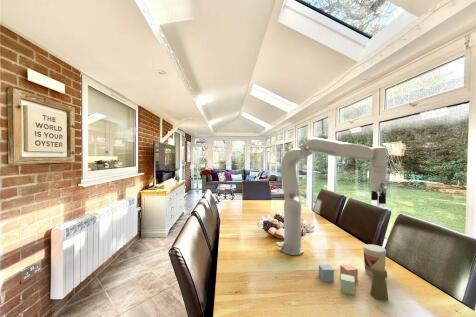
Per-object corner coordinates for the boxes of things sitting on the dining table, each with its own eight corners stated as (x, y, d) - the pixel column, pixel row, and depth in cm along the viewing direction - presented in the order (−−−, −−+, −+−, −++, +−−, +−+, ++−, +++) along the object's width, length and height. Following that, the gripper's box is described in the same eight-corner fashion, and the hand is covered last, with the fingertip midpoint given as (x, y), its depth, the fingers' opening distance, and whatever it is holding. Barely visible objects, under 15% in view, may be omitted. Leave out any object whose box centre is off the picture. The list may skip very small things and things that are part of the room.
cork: (366, 291, 91) (366, 264, 91) (380, 291, 92) (381, 264, 92) (377, 301, 85) (377, 272, 85) (392, 300, 86) (392, 271, 86)
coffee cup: (358, 270, 109) (358, 245, 109) (372, 267, 112) (372, 242, 112) (376, 280, 100) (376, 253, 100) (391, 276, 104) (391, 250, 104)
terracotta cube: (347, 281, 99) (347, 270, 99) (340, 275, 104) (340, 265, 104) (357, 280, 100) (357, 269, 100) (349, 274, 105) (349, 263, 105)
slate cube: (322, 280, 100) (322, 269, 100) (318, 275, 105) (318, 264, 105) (333, 281, 100) (333, 269, 100) (329, 275, 105) (329, 264, 105)
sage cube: (340, 291, 92) (340, 279, 92) (341, 285, 96) (341, 273, 96) (354, 294, 90) (354, 282, 90) (354, 288, 94) (354, 276, 94)
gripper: (364, 169, 130) (364, 198, 130) (377, 170, 113) (377, 204, 113) (379, 169, 129) (379, 199, 129) (393, 171, 112) (393, 205, 112)
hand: (378, 201), depth 121 cm, fingers open, 9 cm apart
